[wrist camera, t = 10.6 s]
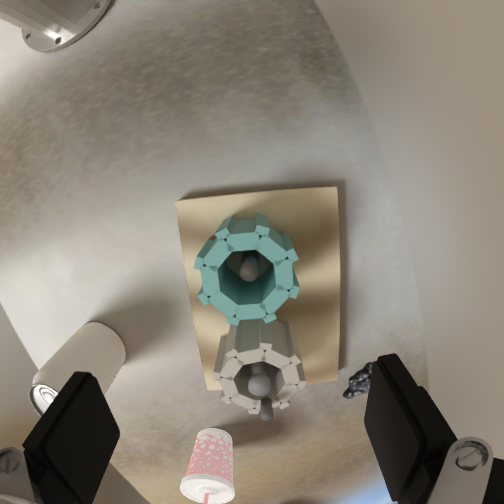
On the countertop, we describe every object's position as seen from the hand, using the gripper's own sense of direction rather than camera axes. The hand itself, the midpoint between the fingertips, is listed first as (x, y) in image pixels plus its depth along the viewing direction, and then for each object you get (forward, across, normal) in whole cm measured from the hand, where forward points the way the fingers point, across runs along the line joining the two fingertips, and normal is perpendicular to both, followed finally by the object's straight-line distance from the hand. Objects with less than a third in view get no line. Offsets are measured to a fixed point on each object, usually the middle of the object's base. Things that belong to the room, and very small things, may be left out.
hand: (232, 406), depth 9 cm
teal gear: (+19, 0, +1) cm, 19 cm away
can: (+21, +18, +10) cm, 29 cm away
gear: (+19, 0, +10) cm, 21 cm away
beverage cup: (+21, +7, +25) cm, 33 cm away
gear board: (+21, -1, +5) cm, 21 cm away
